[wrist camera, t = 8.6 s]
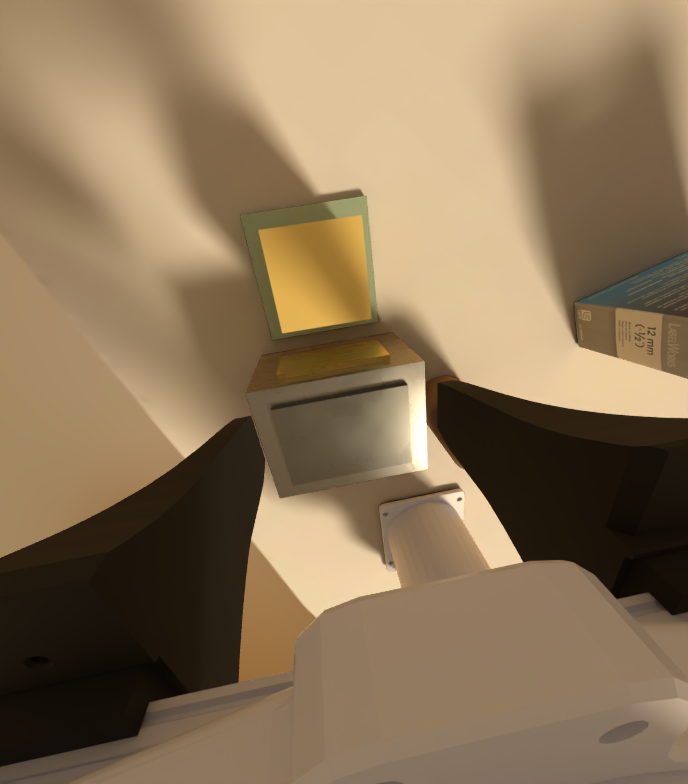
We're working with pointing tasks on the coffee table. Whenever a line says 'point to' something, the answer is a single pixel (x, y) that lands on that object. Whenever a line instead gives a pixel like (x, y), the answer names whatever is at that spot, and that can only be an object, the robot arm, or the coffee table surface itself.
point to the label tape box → (641, 318)
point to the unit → (340, 413)
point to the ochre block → (318, 273)
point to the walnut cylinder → (432, 410)
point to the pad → (301, 216)
